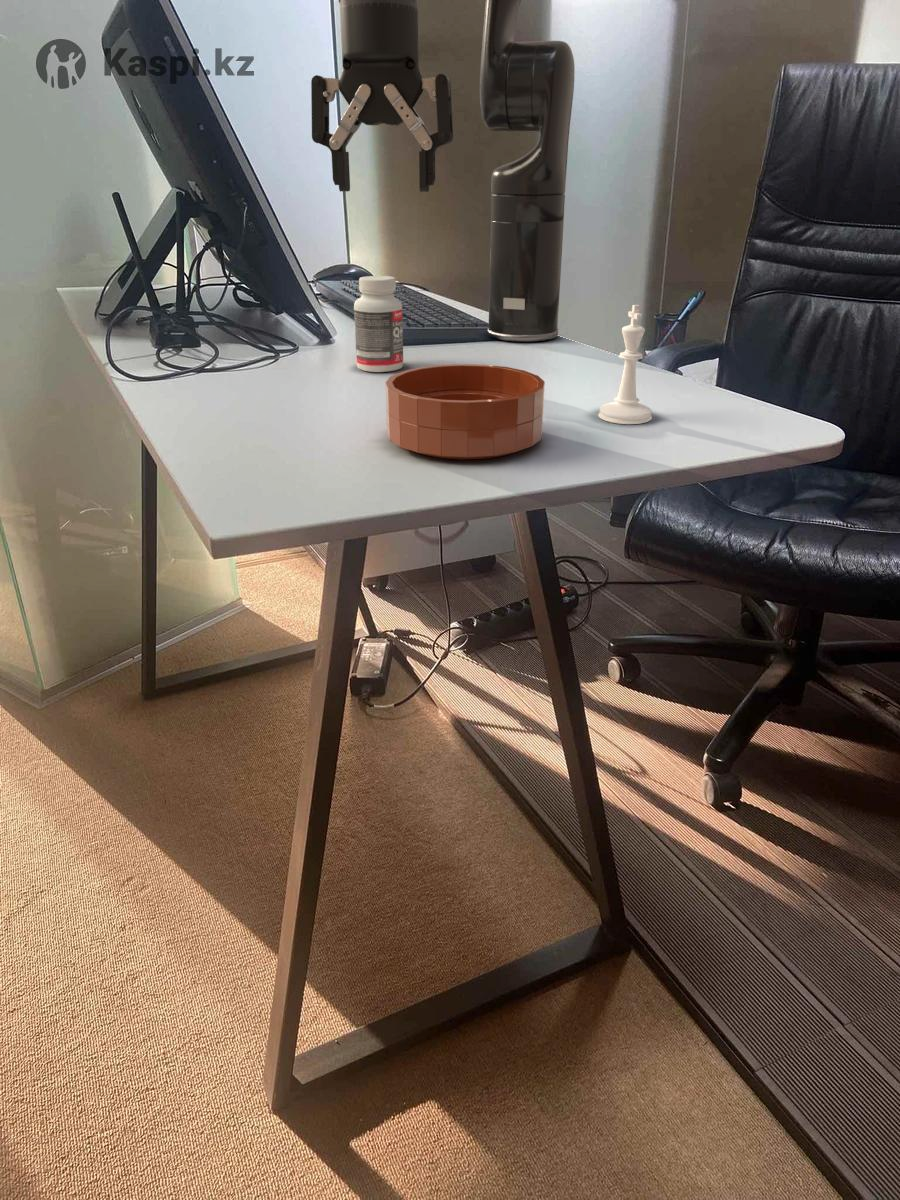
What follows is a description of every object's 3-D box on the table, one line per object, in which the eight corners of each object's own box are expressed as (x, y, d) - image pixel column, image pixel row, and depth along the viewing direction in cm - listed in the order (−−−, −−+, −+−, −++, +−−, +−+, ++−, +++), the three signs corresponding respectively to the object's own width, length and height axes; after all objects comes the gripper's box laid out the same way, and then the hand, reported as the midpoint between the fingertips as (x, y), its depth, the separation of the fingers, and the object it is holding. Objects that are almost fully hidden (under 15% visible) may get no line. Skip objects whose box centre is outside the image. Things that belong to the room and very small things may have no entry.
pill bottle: (405, 372, 96) (403, 280, 92) (357, 374, 96) (353, 281, 91) (401, 362, 101) (399, 274, 96) (355, 363, 100) (351, 274, 96)
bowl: (403, 416, 80) (402, 362, 78) (544, 421, 79) (547, 366, 77) (373, 460, 69) (370, 399, 67) (537, 468, 67) (540, 405, 65)
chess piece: (612, 426, 77) (622, 311, 73) (590, 411, 82) (598, 302, 77) (661, 422, 79) (674, 308, 74) (637, 408, 83) (648, 299, 78)
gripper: (456, 10, 85) (455, 191, 92) (317, 12, 87) (327, 190, 94) (446, -3, 78) (446, 193, 86) (296, 0, 80) (308, 192, 87)
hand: (384, 191), depth 90 cm, fingers open, 8 cm apart
